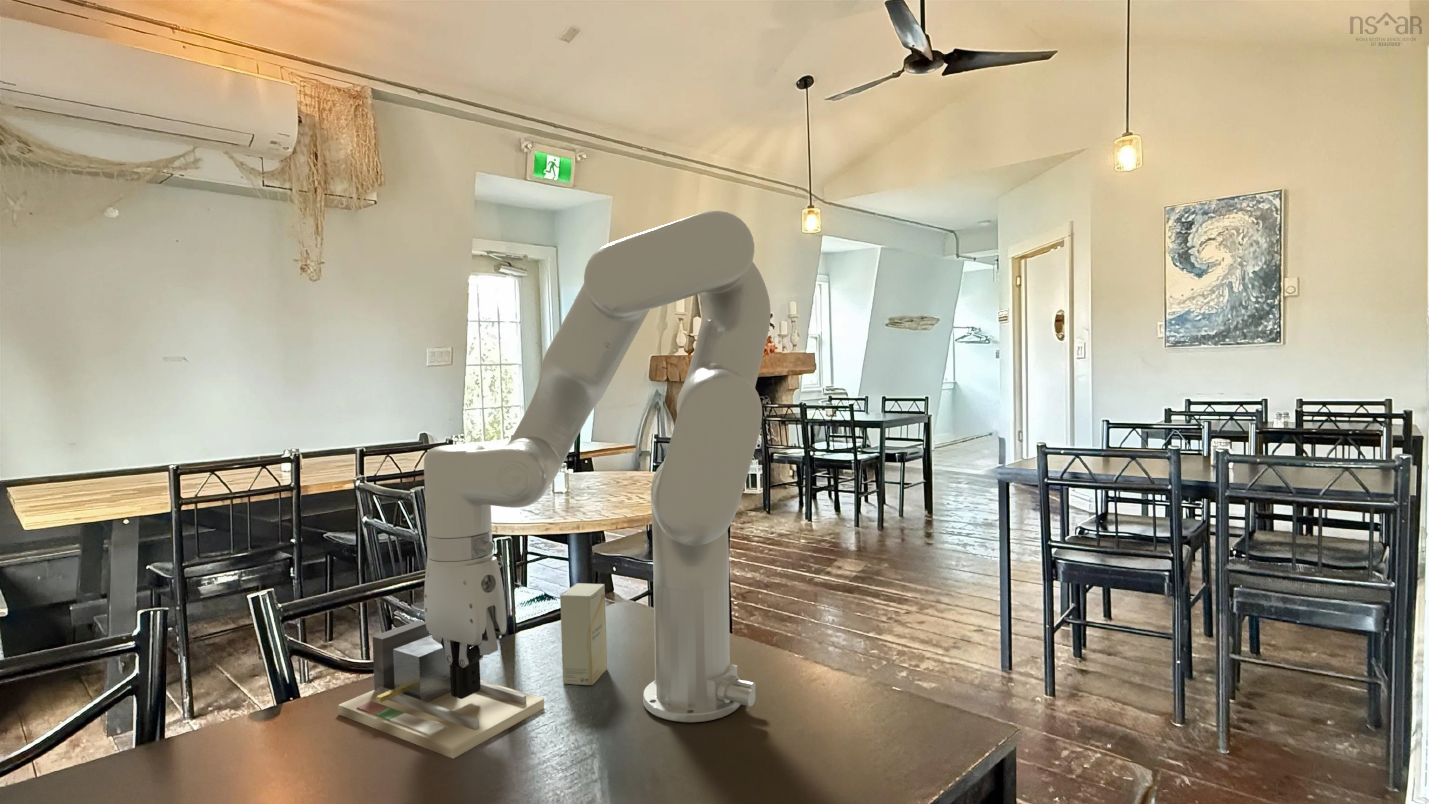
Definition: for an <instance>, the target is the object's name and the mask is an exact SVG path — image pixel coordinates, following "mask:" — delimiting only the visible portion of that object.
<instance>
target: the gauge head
mask: <svg viewBox="0 0 1429 804" xmlns="http://www.w3.org/2000/svg"><path fill="white" fill-rule="evenodd" d="M393 657H394V684H395V688H394V689H392V690H390V691H387V692H385V693H383V694H380V695H378V696H376V701H378V702H380V703H381V702H383V701H385V700H388V699H390V698H392V697H395V696H397V695H399V694H401V693H402V694H405V695H408V696H411V697H414V698H416V699H419V700H422V701H425V702H428V701H430V700H432V699H435V698H437V697H439V696H441V695H443V694H445V693H448V692H450V691H451V680H450V665H452V663H451V664H449V663H448V662H447V661H446V655H445V650H444V648H443V646H442V645H441V644H439V643H438V642H436V641H435V640H433V638H432V634H431V635H430V634H429V636H427V637H425V638H422V639H419V640H417V641H414V642H412V643H409V644H406V645H404V646H401V647H398V648H396V649H393Z"/></svg>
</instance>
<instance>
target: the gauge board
mask: <svg viewBox="0 0 1429 804" xmlns="http://www.w3.org/2000/svg"><path fill="white" fill-rule="evenodd" d="M427 636H430V632H429V631H428V630H427V628H426V623H425V620H424V621H423V620H419V619H418V620H416V621H413V622H410V623H407V624H403V625H401V626H398V627H396V628H393V629H389V630H387V631H384V632H380V633H378V634H375V635H372V657H373V658H372V659H373V661H372V663H373V682H374V688H373V690H371V691H368V692H365V693H363V694H361V695H358V696H356V697H354V698H352V699H348V700H346V701H344V702H340V704H338V706H337V709H338V710H337V711H338V715H339V716H342V717H345V718H347V719H350V720H352V721H355V722H358V723H360V724H363V725H365V726H368V727H371V728H372V729H376V730H378V731H381V732H383V733H386V734H389V735H391V736H393V737H396V738H399V739H402V740H404V741H406V742H409V743H410V744H411V743H412V744H415V745H417V746H419V747H422V748H424V749H427V750H430V751H433V752H435V753H436V754H437V753H438V754H441V755H443V756H445V757H448V758H449V759H450V758H451V759H455V758H457V757H460V756H461V755H463V754H465V753H466V752H468V751H469V750H472V749H474V748H475V747H477V746H479V745H480V744H483V743H484V742H486V741H487V740H489V739H491V738H494V737H495V736H497V735H499V734H500V733H502V732H503V731H504V732H505V730H507V729H510V728H511V727H513V726H515V725H516V724H518V723H521V722H522V721H524V720H525V719H527V718H529V717H531V716H532V715H535V714H536V713H538V712H540V711H542V710H544V709H545V698H543V697H540V696H537V695H533V694H529V693H526V692H524V691H520V690H516V689H513V688H510V687H506V686H503V685H499V684H496V683H493V682H489V681H486V680H482V679H480V685H481V688H480V690H479V691H478V692H476V693H474V694H472V695H469V696H467V697H465V698H463V699H459V698H457V697H453V696H452V695H451V691H450V692H448V693H445V694H443V695H441V696H439V697H437V698H435V699H432V700H430V701H428V702H425V701H422V700H419V699H416V698H414V697H411V696H408V695H405V694H402V693H401V694H399V695H397V696H395V697H392V698H390V699H388V700H385V701H383V702H381V703H380V702H378V701H376V696H378V695H380V694H383V693H385V692H387V691H390V690H392V689H394V688H395V684H394V657H393V649H396V648H398V647H401V646H404V645H406V644H409V643H412V642H414V641H417V640H419V639H422V638H425V637H427Z"/></svg>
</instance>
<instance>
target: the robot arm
mask: <svg viewBox="0 0 1429 804" xmlns="http://www.w3.org/2000/svg"><path fill="white" fill-rule="evenodd" d="M754 257H755V241H754V237H753V235H752V233H751V230H750V228H749V226H747V224H746V223H745V222H744V221H743V220H742V219H741V218H740V217H738V216H737V215H735V214H732V213H730V212H727V211H722V210H708V211H704V212H700V213H697V214H694V215H691V216H688V217H685V218H681V219H679V220H676V221H673V222H670V223H666V224H664V225H660V226H658V227H655V228H652V229H648V230H646V231H643V232H640V233H639V232H638V233H636V234H633V235H630V236H627V237H624V238H620V239H618V240H615V241H612V242H610V243H607V244H605V245H603V246H601V247H600V248H599V249H597V250H596V251H595V252H594V253H593V254H592V255H591V257H589V260H588V261H587V263H586V266H585V269H584V275H583V284H582V286H581V287H580V289H579V292H578V293H577V295H576V297H575V299H574V301H573V303H572V305H571V307H570V309H569V311H568V312H567V314H566V316H565V318H564V320H563V321H562V323H561V325H560V327H559V329H558V331H557V332H556V334H555V336H554V337H553V339H552V341H551V343H550V344H549V346H548V348H547V350H546V351H545V354H544V356H543V359H542V362H541V366H540V372H539V380H538V383H537V387H536V390H535V392H534V394H533V397H532V398H531V401H530V403H529V405H528V407H527V409H526V411H525V412H524V415H523V417H522V418H521V420H520V422H519V424H518V426H517V427H516V428H515V431H514V433H513V435H512V437H511V438H510V439H509V441H508V443H507V444H505V445H503V446H500V447H496V448H487V449H486V448H485V447H483V446H482V445H478V444H471V443H467V444H466V443H463V444H462V443H461V444H459V443H458V444H448V445H447V444H446V445H445V444H444V445H439V446H435V447H433V448H430V449H428V451H427V452H426V453H425V455H424V459H423V476H424V478H423V479H424V500H425V501H424V503H425V518H426V519H425V521H426V544H427V546H426V547H427V558H426V559H427V560H426V565H425V566H426V567H425V573H424V574H425V575H424V576H425V577H424V590H423V591H424V592H423V596H424V597H423V602H424V603H423V605H424V608H423V610H424V622H425V623H426V628H427V630H428V631H429V634H431V635H432V638H433V640H435V641H436V642H438V643H439V644H441V645H442V646H443V648H444V650H445V655H446V661H447V662H448V663H449V664H451V663H452V665H450V680H451V695H452V696H453V697H457V698H459V699H463V698H465V697H467V696H469V695H472V694H474V693H476V692H478V691H479V690H480V688H481V685H480V680H481V666H480V665H481V664H480V661H482V660H483V658H484V656H490V655H491V654H493V653H496V652H498V650H499V647H498V646H499V645H498V640H497V637H501V636H503V635H505V634H506V632H507V613H506V612H507V611H506V610H507V609H506V601H505V591H504V585H503V580H502V579H503V578H502V574H501V570H500V565H499V561H498V558H497V557H496V556H494V555H493V552H494V551H493V550H494V548H495V545H494V543H493V530H492V528H493V527H492V526H493V525H492V506H494V507H500V508H501V507H502V508H515V509H517V508H525V507H528V506H531V505H533V504H535V503H536V502H539V500H540V499H541V498H542V497H543V496H544V495H545V493H546V492H547V491H548V489H549V488H550V486H551V485H552V483H553V482H554V481H555V479H556V477H557V476H558V473H559V471H560V470H561V468H562V466H563V465H564V462H565V460H566V458H567V456H568V455H569V453H570V452H571V449H572V447H573V445H574V443H575V442H576V440H577V438H578V436H579V434H580V433H581V431H582V429H583V427H584V426H585V424H586V421H587V420H588V418H589V416H590V415H591V413H592V411H593V410H594V408H595V407H596V406H597V405H598V404H599V402H600V401H601V399H602V398H603V396H604V394H605V392H606V391H607V389H608V387H609V385H610V384H611V382H612V380H613V378H614V376H615V375H616V373H617V371H618V369H619V367H620V366H621V364H622V361H623V359H624V357H625V356H626V354H627V352H628V350H629V349H630V347H631V344H632V343H633V341H634V339H635V337H636V336H637V334H638V332H639V330H640V329H641V326H642V325H643V323H644V321H645V320H646V317H647V316H648V313H649V312H650V311H651V310H652V309H657V308H659V307H662V306H663V307H664V306H665V305H669V304H672V303H675V302H679V301H682V300H685V299H688V298H691V297H694V296H696V295H698V296H699V298H700V300H701V305H702V315H701V323H700V326H699V330H698V333H697V338H696V342H695V346H694V351H693V354H692V358H691V361H690V363H689V367H688V370H687V374H686V377H685V380H684V382H683V385H682V387H681V389H680V391H679V394H678V397H677V401H676V414H677V415H676V419H675V422H674V426H673V430H672V433H671V437H670V441H669V444H668V447H667V450H666V451H667V452H666V455H665V458H664V461H663V462H662V463H661V464H660V465H659V466H658V467H657V469H656V470H655V473H654V474H653V478H652V481H651V486H650V487H651V488H650V505H651V506H650V507H651V529H652V530H651V531H652V565H653V566H652V568H653V574H652V575H653V577H652V578H653V580H652V581H653V584H652V585H653V586H652V587H653V636H654V637H653V638H654V640H653V642H654V644H653V645H654V680H653V681H652V682H650V683H649V684H647V685H646V687H645V688H644V690H643V692H642V694H643V695H642V702H643V706H644V708H645V709H646V711H648V712H650V713H651V714H652V715H654V716H655V717H657V718H661V719H663V720H666V721H672V722H679V723H701V722H703V723H704V722H709V721H713V720H717V719H721V718H725V717H726V716H728V715H729V714H732V713H734V712H735V711H736V710H737V709H739V707H740V706H741V705H743V706H747V707H753V705H754V704H755V701H756V695H757V694H756V689H757V688H756V687H757V685H756V684H757V683H756V682H754V681H750V680H743V679H740V677H739V676H738V670H739V669H738V665H736V664H733V663H730V662H731V657H730V656H731V651H730V650H731V649H730V648H731V647H730V641H731V639H730V555H729V554H730V552H729V551H730V549H729V548H730V547H729V532H728V531H729V528H730V525H732V523H733V521H734V519H735V517H736V514H737V511H738V510H739V505H740V504H741V503H740V502H741V499H742V496H743V493H744V490H745V487H746V483H747V478H748V475H749V472H750V469H751V465H752V463H753V462H752V461H753V458H754V454H755V451H756V448H757V445H758V440H759V436H760V432H761V427H762V420H763V408H762V407H763V405H762V402H761V399H760V395H759V392H758V391H757V390H756V389H757V388H756V385H757V381H758V378H759V373H760V370H761V366H762V362H763V358H764V353H765V349H766V344H767V341H768V337H769V333H770V328H771V327H770V325H771V300H770V296H769V293H768V289H767V286H766V283H765V281H764V278H763V276H762V274H761V272H760V270H759V269H758V267H757V266H756V264H755V263H754V262H753V260H754Z"/></svg>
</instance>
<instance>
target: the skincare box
mask: <svg viewBox="0 0 1429 804" xmlns="http://www.w3.org/2000/svg"><path fill="white" fill-rule="evenodd" d="M605 589H606V587H605V583H587V582H585V583H581V582H576V583H575V584H573V585H572V586H570V587H569V588H568V589H566V590H565V591H564V592H562V593H561V594H560V596H559V601H560V625H561V627H560V631H561V632H560V633H561V659H562V661H561V662H562V663H561V664H562V666H561V667H562V683H563V684H564V685H565V684H569V685H577V686H593V685H594V684H595V683H596V682H597V681H598V680H599V679H600V678H601V676H602V675H603V674H604V673H605V672H606V671H607V669H608V650H607V647H608V645H607V621H606V619H607V617H606V616H607V614H606V591H605Z"/></svg>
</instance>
